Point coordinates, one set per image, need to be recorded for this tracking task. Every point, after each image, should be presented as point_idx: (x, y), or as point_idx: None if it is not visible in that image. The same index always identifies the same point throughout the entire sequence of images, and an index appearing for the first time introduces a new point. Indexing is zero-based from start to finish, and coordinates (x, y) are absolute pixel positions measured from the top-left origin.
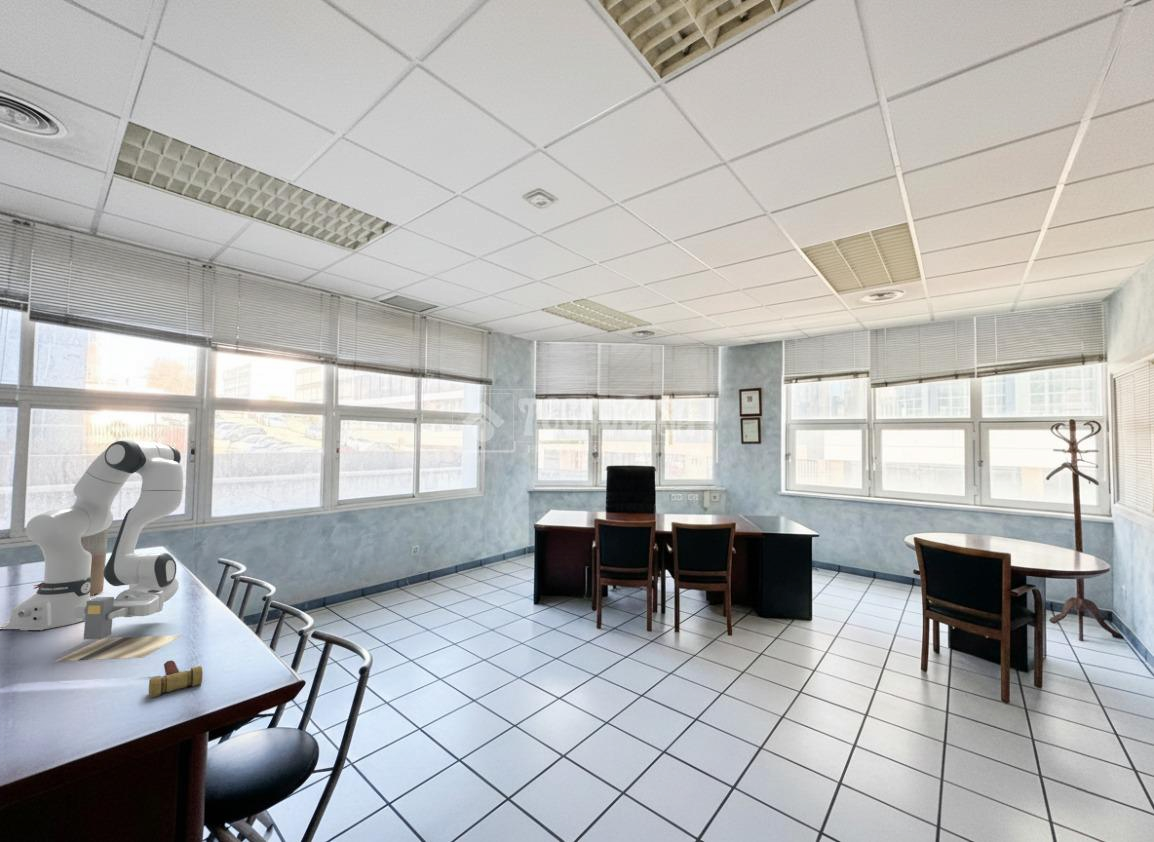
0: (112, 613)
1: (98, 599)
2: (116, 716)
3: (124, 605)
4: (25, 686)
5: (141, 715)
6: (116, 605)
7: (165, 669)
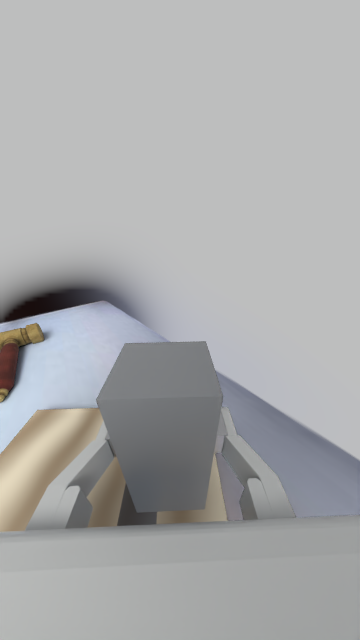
0: None
1: (167, 356)
2: (68, 322)
3: (43, 534)
4: None
5: (51, 322)
6: (112, 532)
7: (13, 363)
